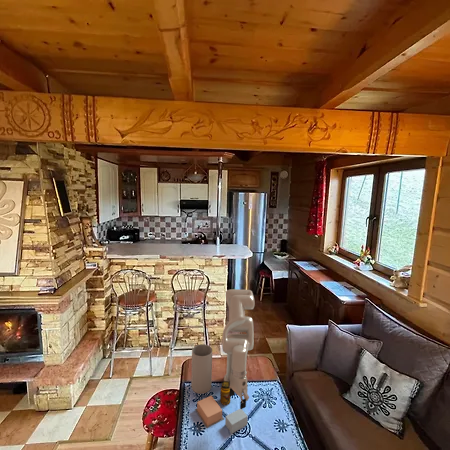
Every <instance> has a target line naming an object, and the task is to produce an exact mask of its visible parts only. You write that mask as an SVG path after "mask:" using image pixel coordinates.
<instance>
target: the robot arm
mask: <svg viewBox="0 0 450 450" xmlns="http://www.w3.org/2000/svg"><path fill="white" fill-rule="evenodd" d="M225 300H226V304H227V307H228V322H227V324H226V325H224V328H223V331H222V345H221V346H222V352H224V353H225V354H226V373H225V375H224V376H223V382H224V381H228V383H229V389H230V393H229V396H230V397H231V398H232V396H235V395H237V396H238V398H240V402H239V404H240V405H239V409H242V410H243V409H245V408H246V407H247V401H249V399H250V396H249V394H248V392H249V391H248V390H249V389H248V388H249V387H248V377H247V374H248V372H247V358H248V351H251V350H253V349H254V346H255V345H254V344H255V342H254V339H255V337H254V331H255V330H254V328H255V327H254V320H253V318H252V317H251V316H246V311H245V310H254V308H255V306H256V305H255V297H254V293H253V291H252V290H251V289H236V288H235V289H234V288H233V289H227V290H226V291H225ZM230 331H231V332H234V333H230V334H229V332H230ZM235 332H236V333H235ZM237 332H240V333H237Z"/></svg>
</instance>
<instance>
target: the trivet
mask: <svg viewBox="0 0 450 450" xmlns="http://www.w3.org/2000/svg"><path fill="white" fill-rule="evenodd" d="M194 411H195V412H196V413H197V416H198V417H199V419H200V420H201V422H202V424H203V425H204V427H205V429H208V428H211V427H212V426H215V425H216V424H218V423H220V422H222V421H224V420H225V417H224V416H223V415H222V419H220V420H218V421H217V422H215V423H213V424H211V425H209V426H207V425H206V423H205V421H204V420H203V418H202V417H201V415H200V414H199V412H198V410H197V408H195V409H194Z"/></svg>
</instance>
